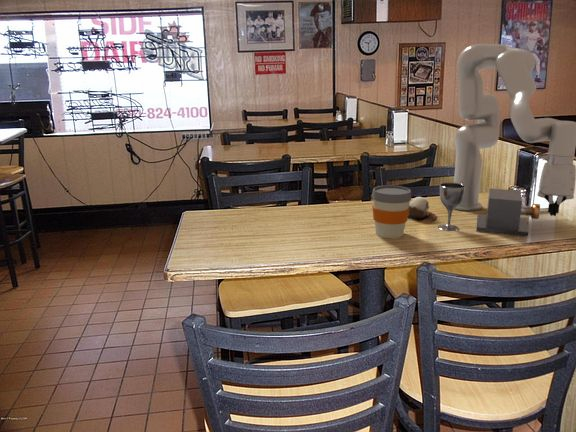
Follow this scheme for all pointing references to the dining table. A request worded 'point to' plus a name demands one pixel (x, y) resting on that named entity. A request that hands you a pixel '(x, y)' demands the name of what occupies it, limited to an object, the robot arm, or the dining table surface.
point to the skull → (420, 210)
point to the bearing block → (503, 214)
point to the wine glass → (451, 201)
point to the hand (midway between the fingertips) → (552, 214)
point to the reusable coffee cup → (390, 210)
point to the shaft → (531, 211)
